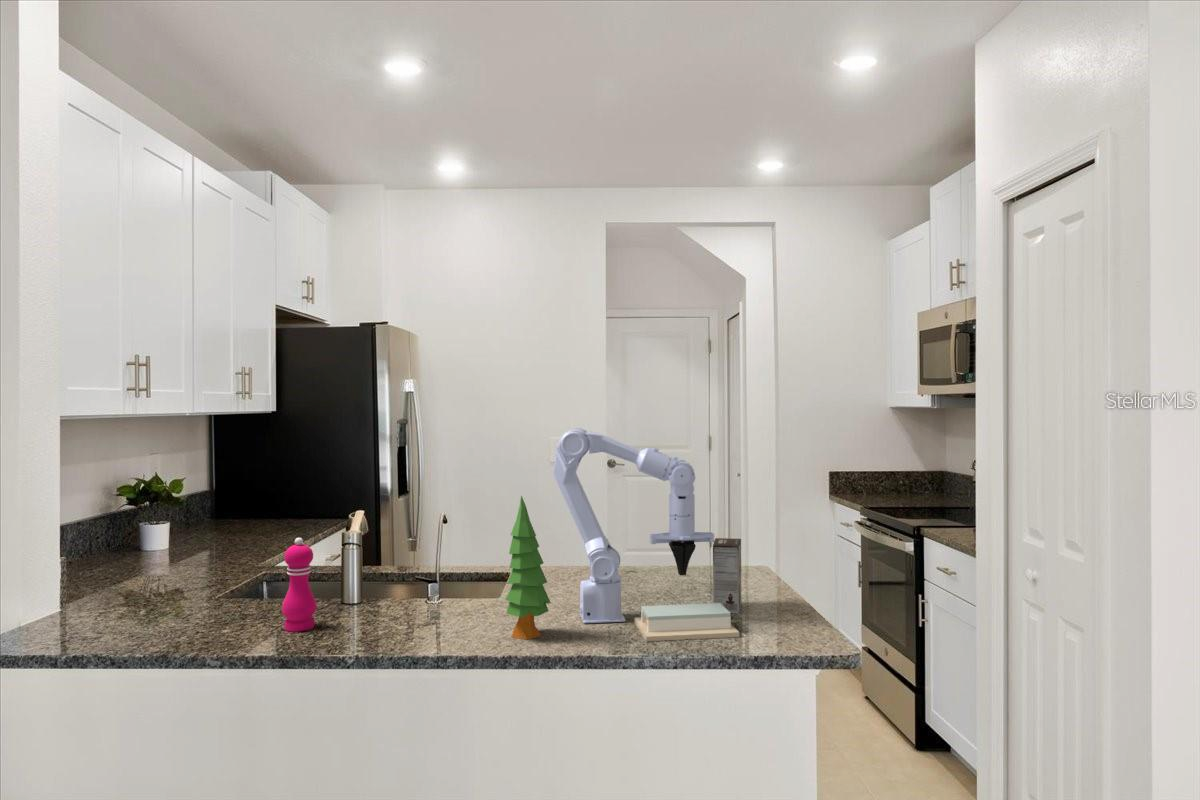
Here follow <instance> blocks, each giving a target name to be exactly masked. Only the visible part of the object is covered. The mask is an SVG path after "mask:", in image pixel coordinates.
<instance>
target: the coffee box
mask: <svg viewBox="0 0 1200 800" xmlns="http://www.w3.org/2000/svg"><path fill="white" fill-rule="evenodd" d="M712 603H721V604H722V605H723V606H724V607H725V608H726V609H727V610H728V611H729V612H730V613H731V614H735V613H736V614H738V615H739V614H740V612H741V607H742V538H727V537H725V538H724V537H723V538H719V537H717V538H715V537H714V542H713V544H712Z"/></svg>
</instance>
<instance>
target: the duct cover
mask: <svg viewBox="0 0 1200 800" xmlns="http://www.w3.org/2000/svg"><path fill="white" fill-rule="evenodd" d="M640 607H641V608H640V609H641V610H642V612H643V613H644V615H645V616H646V618H647V619H648V620H669V619H692V618H715V617H731V614H732V613H730V612H729V611H728V610H727V609H726V608H725V607H724V606H723V605H722V604H721V603H713V602H709V603H687V604H685V603H684V604H680V603H679V604H661V605H660V604H659V605H658V604H656V605H641V606H640ZM641 610H640V611H641Z"/></svg>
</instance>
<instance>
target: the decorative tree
mask: <svg viewBox="0 0 1200 800" xmlns="http://www.w3.org/2000/svg"><path fill="white" fill-rule="evenodd" d="M510 536H512V537H511V538H512V539H511V543H510V547H509V553H508V555H511V558H510V559H511V560H510V564H509V569H512V570H511V573H510V575H509V578H508V580H507V583H506V585H511V587H510V589H509V591H508V593H507V595H506V597H505V601H507V602H509V604H508V606H507V609H506V612H505V613H506V615H507V614H508V615H511V616H514V617H518V619H517V622H516V624H515V625H514V628H513V631H512V634H511V638H514V639H522V640H533V639H535V638H540V637H542V634H541V633H540V631H539V630H538V628H537V627H536V624H535V623H536V622H535V617H539V616H541V615H543V614H545V613H548V612H549V608H548V606H547V604H550V603H551V600H550V598H549V596H548V594H547V591H546V589H545V586H544V584H546V583H548V581H547V578H546V575H545V574H544V571H543V569H542V567H541V565H543V564H544V563H545V562H544V560H543V558H542V556H541V553H540V552H539V549H538V548H539V547H540V545H539V542H538V540H537V538H536V537H537V534H536V532H535V529H534V527H533V525H532V522H531V519H530V517H529V512H528V509H527V506H526V503H525V502H524V498H523V496H522V495H520V501H519V508H518V511H517V515H516V518H515V523H514V525H513V527H512V530H511V533H510Z"/></svg>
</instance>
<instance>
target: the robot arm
mask: <svg viewBox="0 0 1200 800" xmlns="http://www.w3.org/2000/svg"><path fill="white" fill-rule="evenodd" d="M555 448H556V449H555V450H556V451H555V457H554V458H555V459H554V466H553V471H552V473H553V476H554V479H555V481H556V484H557V485H558V488H559V490H560V492H561V495H562V496H563V499H564V501H565V503H566V505H567V507H568V510H569V511H570V514H571V516H572V519H573V521H574V523H575V525H576V528H577V530H578V532H579V534H580V536H581V539H582V542H583V543H584V545H585V551H586V555H587V558H588V560H589V572H590V574H591V575H589V579H587V580H584V579H583V580H581V581H580V583H579V584H580V587H579V593H580V594H579V600H580V601H579V615H580V617H581V620H582V622H583V624H601V623H605V624H606V623H622V622H626V617H625V616H624V615H623V613H622V576H621V575H619V573H618V570H619V567H620V564H621V555H620V553H619V551H617V550H616V549H615V548H614V547H613V546H612V545H611V543H610V541H609V539H608V538H607V537H606V535H605V534H604V532H603V529H602V528H601V525H600V523H599V520H598V519H597V517H596V514H595V511H594V510H593V508H592V505H591V503H590V500H589V498H588V496H587V494H586V492H585V490H584V487H583V485H582V484H581V480H580V479H579V477H578V474H577V471H578V468H579V465H580V463H581V461H582V459H583V458H584V456H585V455H586V454H587V453H588V454H590V455H592V454H598V453H599V454H600V453H605V454H608V455H610V456H613V457H617V458H619V459H621V460H624V461H628V462H630V463H633V464H635V466H636V468H637V470H638V472H640V473H643V474H646V475H649V476H651V477H652V478H655V479H658V480H660V481H662V482H666V481H669V483H670V492H669V495H668V496H669V498H668V500H669V501H668V504H669V507H668V510H669V511H668V513H669V514H668V515H669V516H668V517H669V521H668V525H669V526H668V527H669V528H668V531H669V532H661V533H660V532H659V533H650V534H649V543H650V544H651V545H656V544H668V545H669V547H670V550H671V552H672V554H673V556H674V560H675V563H676V564H675V565H676V567H677V568H676V569H677V573H678V575H679V576H686V575H687V571H688V566H689V563H690V560H691V558H692V556H693V553H694V552H695V550H696V545H697V544H695V543H714V541H715V533H713V532H712V531H711V532H710V531H709V532H705V531H702V532H701V531H699V532H697V531H695V529H696V527H695V525H696V524H695V521H696V520H695V519H696V517H695V516H696V514H695V512H696V511H695V499H696V498H695V497H696V496H695V493H694V492H695V486H694V483H695V481H696V475H695V469H694V468H693V465H691V464H690V463H689V462H687V461H686V460H684V459H679V457H678V456H677V455H674V456H673V457H672V456H670V455H668V454H666V453H662V452H660V451H659V448H657V447H652V448H651V447H646V448H644V449H642V450H639V449H637V448H635V447H632V446H630V445H628V444H626V443H624V442H621V441H618V440H616V439H615V438H612V437H610V436H607V435H604V434H603V433H602V434H601V433H598V432H595V431H591V430H588V431H587V430H586V429H584V428H581V427H578V428H577V427H576V428H573V429H571V430H567V431H566V432H565V433H563V434H562V436H561V437H560V439H559V441H558V442H557V444H556V447H555Z"/></svg>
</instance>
